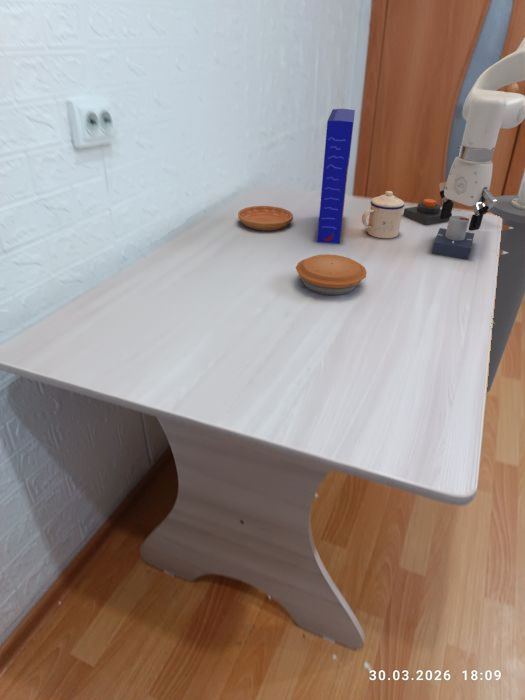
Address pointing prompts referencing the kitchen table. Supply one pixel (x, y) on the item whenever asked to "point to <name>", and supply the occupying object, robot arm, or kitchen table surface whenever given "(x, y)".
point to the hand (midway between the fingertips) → (458, 223)
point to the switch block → (425, 214)
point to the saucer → (265, 217)
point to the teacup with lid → (384, 216)
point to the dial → (457, 228)
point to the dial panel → (452, 245)
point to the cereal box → (335, 174)
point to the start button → (429, 203)
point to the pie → (330, 274)
